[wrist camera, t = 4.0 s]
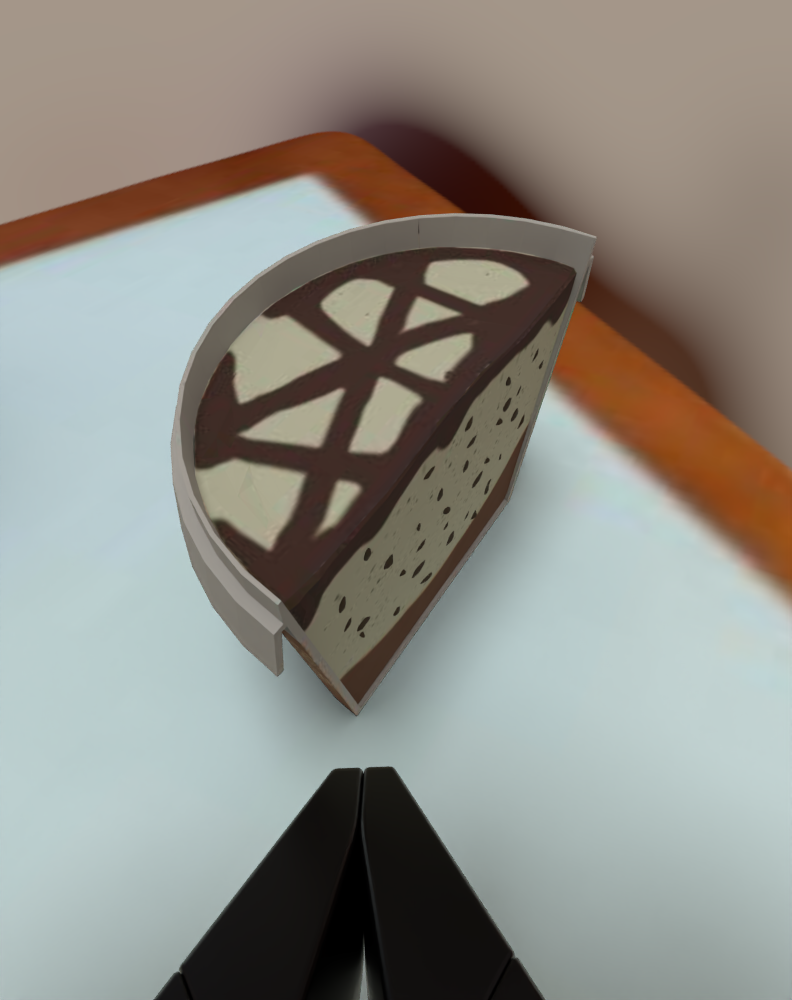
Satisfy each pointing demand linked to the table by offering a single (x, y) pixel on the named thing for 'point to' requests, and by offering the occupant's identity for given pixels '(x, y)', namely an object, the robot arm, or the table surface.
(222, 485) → the food container
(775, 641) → the table surface
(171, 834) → the table surface
